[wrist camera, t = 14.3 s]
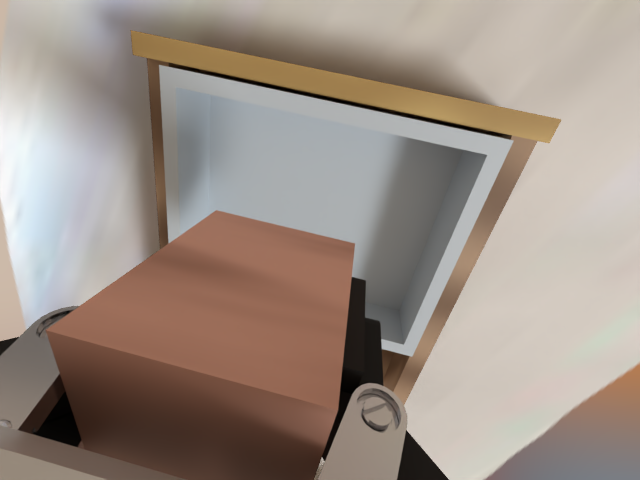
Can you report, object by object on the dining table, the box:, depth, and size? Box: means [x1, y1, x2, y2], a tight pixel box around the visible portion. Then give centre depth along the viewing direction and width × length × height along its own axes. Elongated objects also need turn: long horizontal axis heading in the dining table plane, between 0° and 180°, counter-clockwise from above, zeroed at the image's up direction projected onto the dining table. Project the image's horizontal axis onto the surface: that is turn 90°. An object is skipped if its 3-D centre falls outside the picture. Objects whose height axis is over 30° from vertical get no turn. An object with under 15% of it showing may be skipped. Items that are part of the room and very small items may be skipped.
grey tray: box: [159, 65, 514, 357], centre depth 18 cm, size 14×17×4 cm
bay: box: [131, 30, 561, 405], centre depth 20 cm, size 23×20×5 cm
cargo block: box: [46, 210, 355, 480], centre depth 8 cm, size 5×5×6 cm
